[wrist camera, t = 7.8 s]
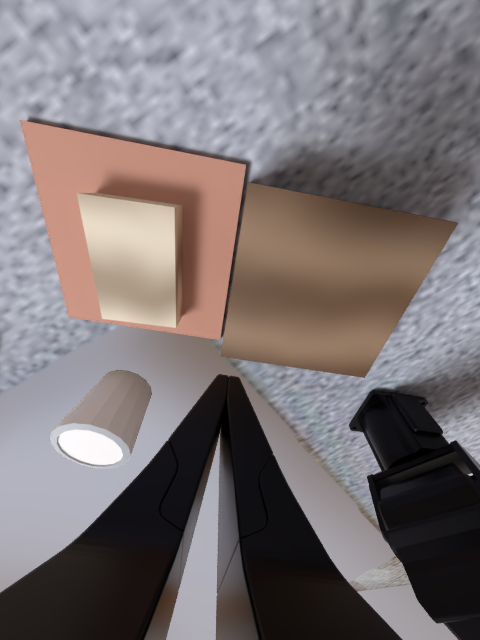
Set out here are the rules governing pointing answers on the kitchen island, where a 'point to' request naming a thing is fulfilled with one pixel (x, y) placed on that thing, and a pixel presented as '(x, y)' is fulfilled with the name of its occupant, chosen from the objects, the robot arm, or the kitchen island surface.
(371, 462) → the kitchen island surface
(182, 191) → the mat
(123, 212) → the cream rectangular block
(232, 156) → the kitchen island surface
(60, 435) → the shot glass
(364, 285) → the panel
